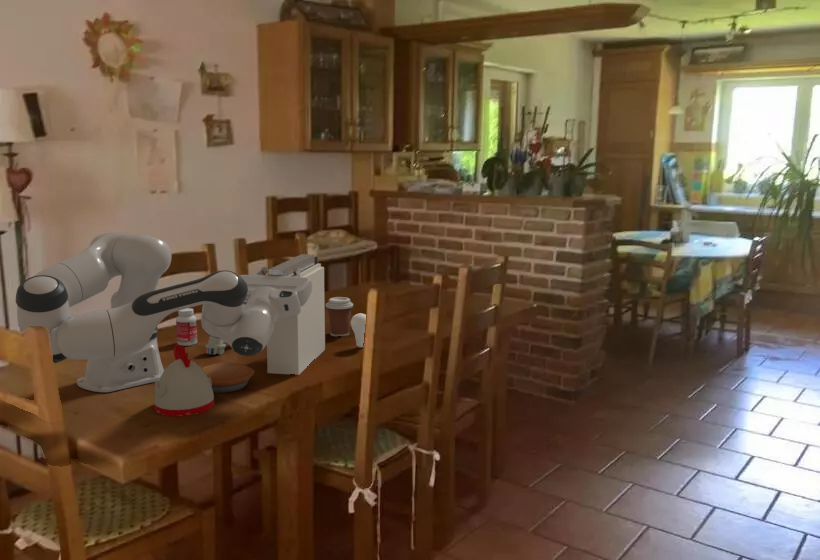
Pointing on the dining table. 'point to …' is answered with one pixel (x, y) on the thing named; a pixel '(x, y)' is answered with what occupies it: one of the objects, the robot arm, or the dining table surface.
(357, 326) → the lightbulb
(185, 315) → the pill bottle
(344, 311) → the coffee cup
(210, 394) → the kitchen timer
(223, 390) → the pie
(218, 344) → the toothbrush head
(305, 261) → the brushed metal bar
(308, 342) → the stand
